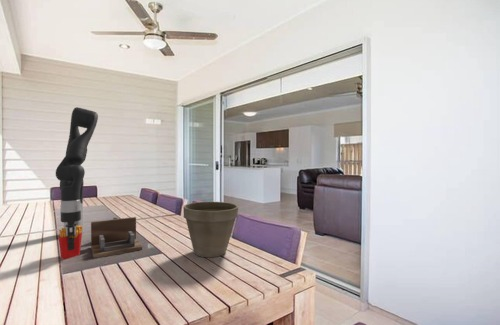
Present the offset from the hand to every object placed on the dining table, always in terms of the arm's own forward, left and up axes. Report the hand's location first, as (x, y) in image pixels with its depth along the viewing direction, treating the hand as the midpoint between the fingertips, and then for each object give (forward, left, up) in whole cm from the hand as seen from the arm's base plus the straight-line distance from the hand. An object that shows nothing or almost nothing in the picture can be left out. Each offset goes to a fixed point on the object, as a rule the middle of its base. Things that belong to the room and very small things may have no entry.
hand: (71, 247), depth 120 cm
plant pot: (+29, +54, -4) cm, 61 cm away
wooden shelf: (0, +18, -4) cm, 18 cm away
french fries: (0, 0, -4) cm, 4 cm away
